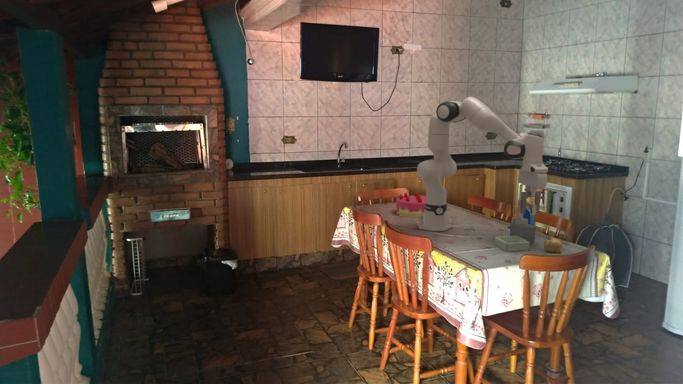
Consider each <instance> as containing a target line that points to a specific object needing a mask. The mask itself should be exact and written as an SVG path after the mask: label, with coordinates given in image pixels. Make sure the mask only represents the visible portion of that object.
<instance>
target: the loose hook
mask: <svg viewBox="0 0 683 384" xmlns="http://www.w3.org/2000/svg"><path fill="white" fill-rule="evenodd" d="M531 191H532V190H531ZM531 191H529V192H527V191H521V192H520V200H521V206H520V213H521V214H526V201H527V198H534V202H533V204H536V205H537V206H536V214H540V212H541V211H540V210H541V208H540V207H541V191H540V190H538V191H537V190H536V192H535V196H531V195H530V192H531Z"/></svg>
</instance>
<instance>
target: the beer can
mask: <svg viewBox="0 0 683 384" xmlns="http://www.w3.org/2000/svg"><path fill="white" fill-rule="evenodd" d="M523 218H524V219H528V224H530V225H532V226H534V227H535V228H536V226H535V224H536V215H530V208H528V207H526V214H523Z"/></svg>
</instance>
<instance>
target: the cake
mask: <svg viewBox="0 0 683 384" xmlns="http://www.w3.org/2000/svg"><path fill="white" fill-rule="evenodd" d="M425 204H426V195H420V194H419V193H418V191H415V193H414V195H408V193H407V192H404V193H403V195H402V194H400V195H399V196H397V197H396V198H395V208H396V214H399V215H402V216H401V217H403V216H406V217H405V218H408V217H412V218H411V219H419V216H421V214H422V213H423V211H424V210H425ZM399 215H398V216H399Z"/></svg>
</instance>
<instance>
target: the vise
mask: <svg viewBox="0 0 683 384" xmlns="http://www.w3.org/2000/svg"><path fill="white" fill-rule="evenodd" d="M507 229H509V236H519V237H521V238H522V239H524V240H526V241H528V242H530V246H532V245H535V243H536V241H535V239H536V226H535V227H534V226H532V225H530V224H528V219H524V218H523V219H517V216H516V217H511V221H510V223H509V226H507Z"/></svg>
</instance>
